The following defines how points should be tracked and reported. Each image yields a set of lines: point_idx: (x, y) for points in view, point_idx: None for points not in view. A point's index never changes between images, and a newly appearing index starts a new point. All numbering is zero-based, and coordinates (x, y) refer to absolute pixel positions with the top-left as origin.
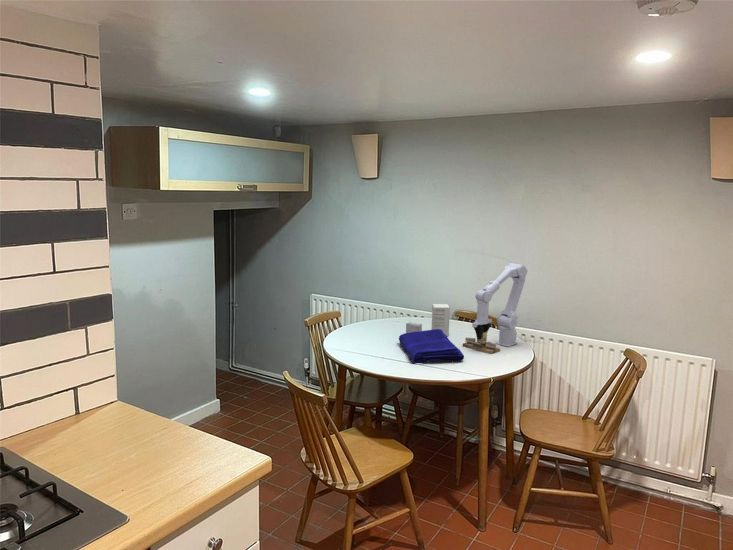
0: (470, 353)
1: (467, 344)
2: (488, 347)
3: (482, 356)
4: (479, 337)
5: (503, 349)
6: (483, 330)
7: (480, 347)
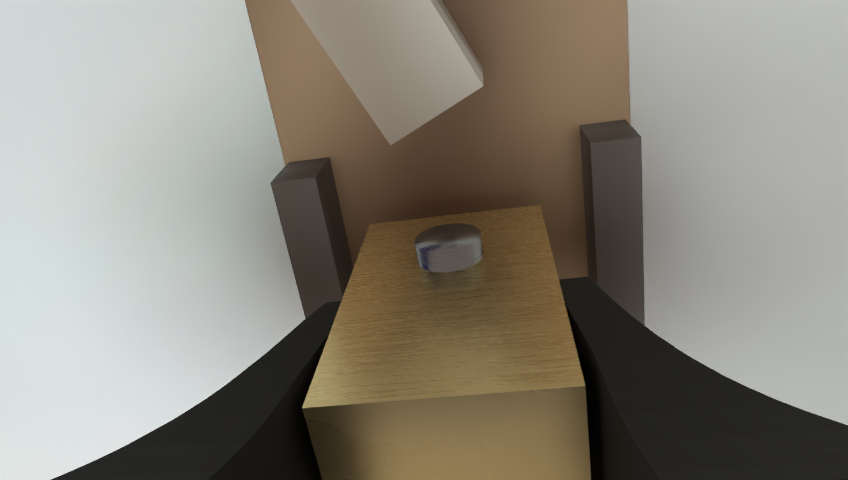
0: (109, 301)
1: (267, 3)
2: None
3: None
4: None
5: None
6: (606, 460)
7: None
